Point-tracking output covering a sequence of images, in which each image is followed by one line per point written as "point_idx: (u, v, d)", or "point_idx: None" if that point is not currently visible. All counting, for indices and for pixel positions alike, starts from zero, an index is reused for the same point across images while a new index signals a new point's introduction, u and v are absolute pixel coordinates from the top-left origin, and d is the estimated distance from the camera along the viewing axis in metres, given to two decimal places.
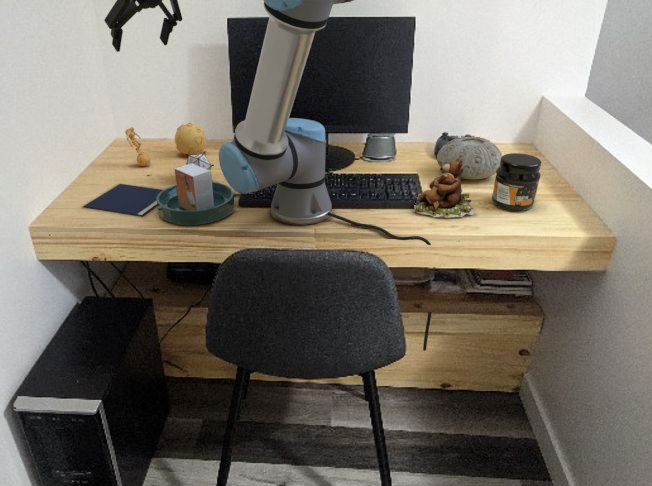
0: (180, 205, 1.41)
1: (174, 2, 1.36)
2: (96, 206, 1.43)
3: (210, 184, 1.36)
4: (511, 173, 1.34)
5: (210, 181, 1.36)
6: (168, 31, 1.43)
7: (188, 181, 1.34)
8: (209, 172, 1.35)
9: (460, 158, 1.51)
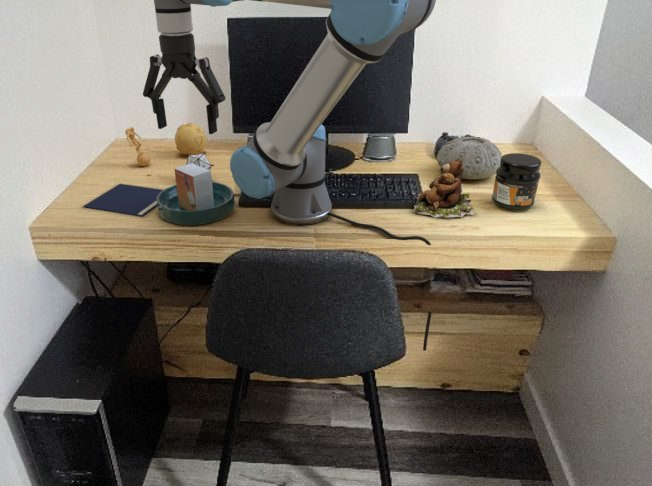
0: (180, 205, 1.41)
1: (203, 74, 1.21)
2: (96, 206, 1.43)
3: (210, 184, 1.36)
4: (511, 173, 1.34)
5: (210, 181, 1.36)
6: (208, 114, 1.25)
7: (188, 181, 1.34)
8: (209, 172, 1.35)
9: (460, 158, 1.51)
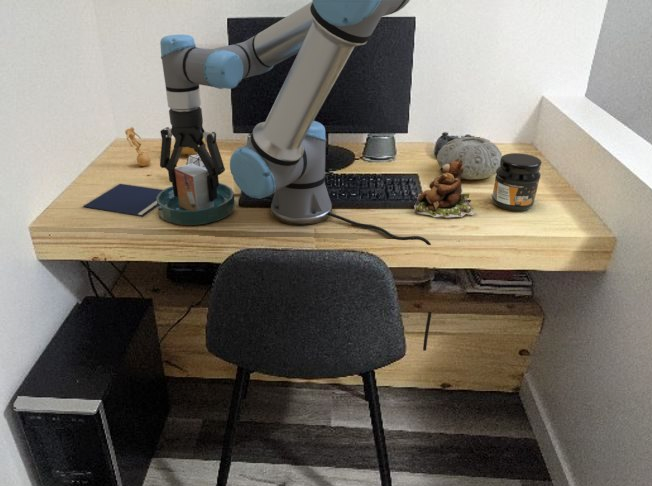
0: (180, 205, 1.41)
1: (209, 147, 1.29)
2: (96, 206, 1.43)
3: None
4: (511, 173, 1.34)
5: None
6: (208, 184, 1.34)
7: (188, 181, 1.34)
8: None
9: (460, 158, 1.51)
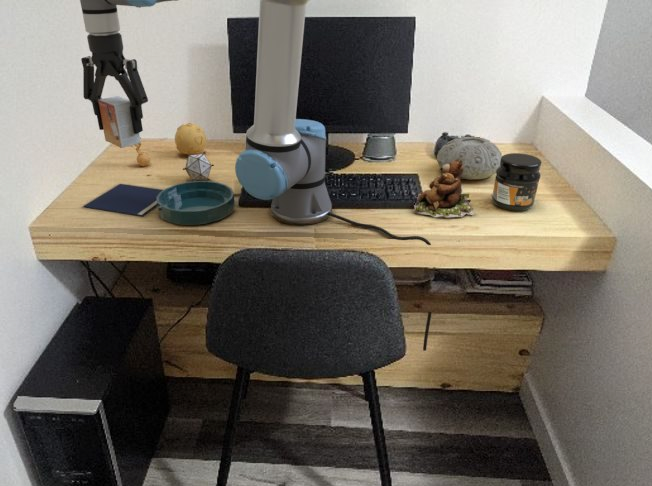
0: (106, 139, 1.38)
1: (129, 75, 1.27)
2: (96, 206, 1.43)
3: None
4: (511, 173, 1.34)
5: None
6: (131, 115, 1.32)
7: (110, 111, 1.31)
8: None
9: (460, 158, 1.51)
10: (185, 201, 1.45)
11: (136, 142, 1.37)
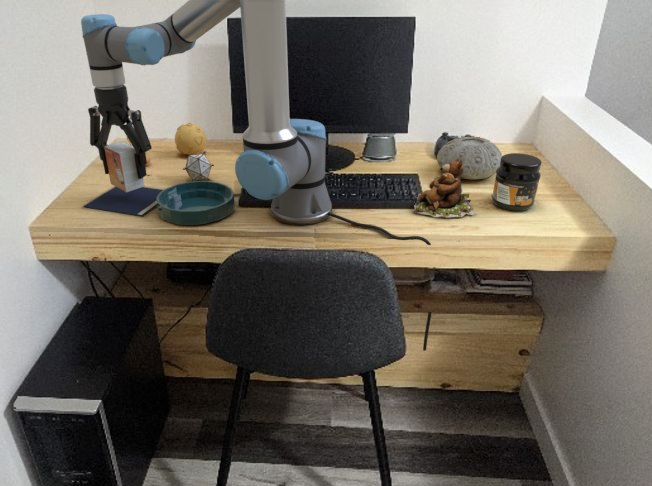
0: (111, 183, 1.45)
1: (134, 125, 1.33)
2: (96, 206, 1.43)
3: None
4: (511, 173, 1.34)
5: None
6: (136, 161, 1.38)
7: (115, 158, 1.38)
8: None
9: (460, 158, 1.51)
10: (185, 201, 1.45)
11: (140, 186, 1.43)
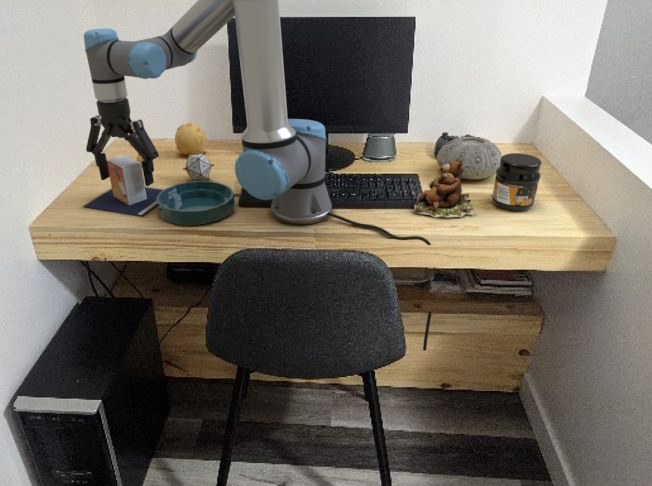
0: (114, 195, 1.47)
1: (137, 135, 1.34)
2: (96, 206, 1.43)
3: (141, 175, 1.42)
4: (511, 173, 1.34)
5: (141, 172, 1.42)
6: (143, 169, 1.39)
7: (118, 172, 1.39)
8: (139, 164, 1.40)
9: (460, 158, 1.51)
10: (185, 201, 1.45)
11: (142, 199, 1.45)
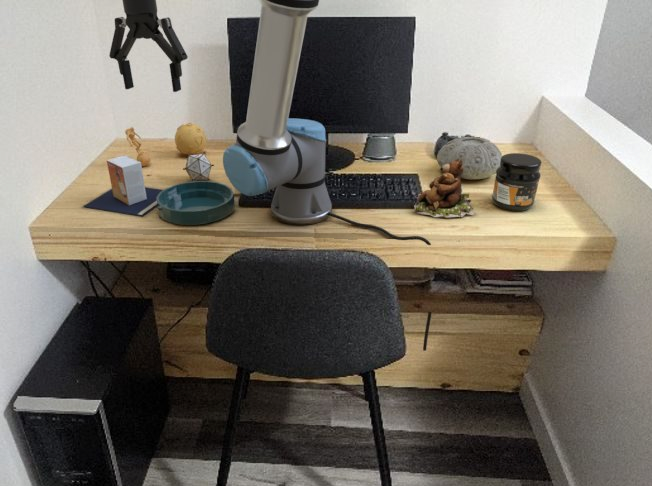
0: (114, 195, 1.47)
1: (165, 33, 1.28)
2: (96, 206, 1.43)
3: (141, 175, 1.42)
4: (511, 173, 1.34)
5: (141, 172, 1.42)
6: (171, 72, 1.32)
7: (118, 172, 1.39)
8: (139, 164, 1.40)
9: (460, 158, 1.51)
10: (185, 201, 1.45)
11: (142, 199, 1.45)
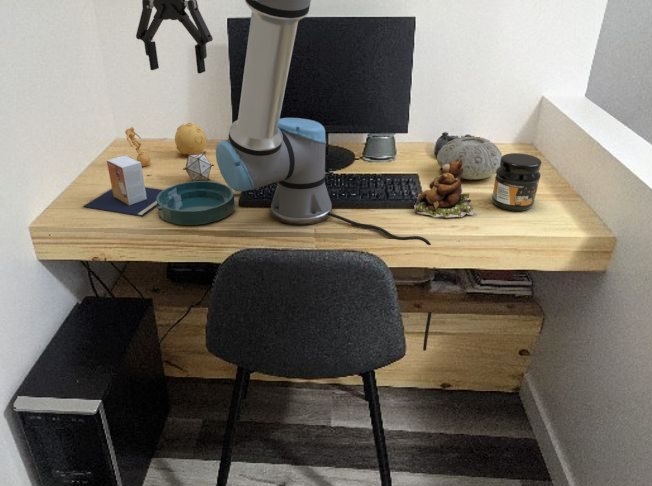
0: (114, 195, 1.47)
1: (192, 15, 1.30)
2: (96, 206, 1.43)
3: (141, 175, 1.42)
4: (511, 173, 1.34)
5: (141, 172, 1.42)
6: (196, 54, 1.35)
7: (118, 172, 1.39)
8: (139, 164, 1.40)
9: (460, 158, 1.51)
10: (185, 201, 1.45)
11: (142, 199, 1.45)
